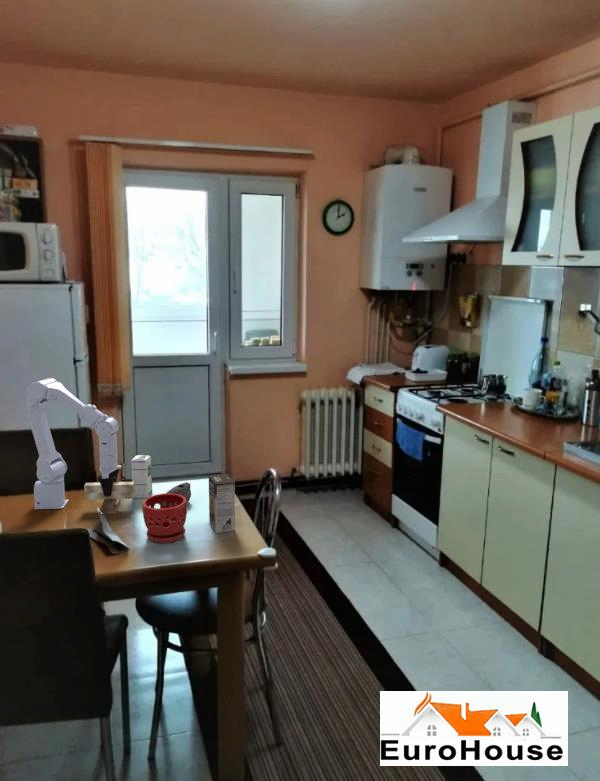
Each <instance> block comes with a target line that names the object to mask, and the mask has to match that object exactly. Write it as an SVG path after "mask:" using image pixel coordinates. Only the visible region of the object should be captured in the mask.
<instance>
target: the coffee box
mask: <svg viewBox="0 0 600 781" xmlns="http://www.w3.org/2000/svg"><path fill="white" fill-rule="evenodd" d="M235 484H236V483H235V481H234V479H232V478H231V476H230V475H228V473H226V474H213V475H211V474H210V475H208V503H209V504H208V507H209V508H208V509H209V510H208V512H209V514H208V515H209V516H208V517H209V524H210V526H211V528H212V529H213V531H214V532H215V533H216V534H217V533H218V534H219V533H220V534H221V533H227V532H234V531H235V525H236V524H235V519H236V518H235V517H236V516H235V514H236V512H235V511H236V504H235V503H236V502H235V499H236V498H235V497H236V496H235V495H236V492H235V490H236V488H235V486H236V485H235Z"/></svg>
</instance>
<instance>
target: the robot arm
mask: <svg viewBox="0 0 600 781" xmlns="http://www.w3.org/2000/svg"><path fill="white" fill-rule="evenodd" d="M25 393H26V397H25V398H26V399H25V404H24V406H25V411H26V414H27V418H28V421H29V425H30V428H31V432H32V435H33V438H34V441H35V442H34V443H35V446H36V449H37V452H38V459H37V460H36V477H37V479H38V480H36V481H35V483H34V485H33V495H34V496H33V497H34V498H33V499H34V510H50V509H51V510H57V509H64V508H65V506H66V505H67V503H68V502H69V499H67V498H66V496H65V474H66V472H67V470H68V465H67V462H65V460H64V458H63V457H62V454H61V453H60V452H58V451H57V450H56V446H55V442H54V439H53V436H52V433H51V429H50V426H49V421H48V419H47V416H46V410H45V406H46V405H47V403H48V402H49V401H59V402H61V403H62V404H64V405H65V406H67V407H69V408H71V410H74V411H75V412H76V413H78V417H79V419H80V420H81V421H82V422H84V423H86V424H87V425H88V426H90V427H91V428H92V429H94V431H95V434H96V436H98V443H99V444H98V447H99V448H98V450H99V451H98V452H99V470H100V472H101V475H97V481H98V483H100V484H101V486H102V489H103V493H104V496H105V497H106V496H111V494H112V487H113V482H118V480H117V479H118V476H119V473H120V470H121V469H122V465H119V464H118V440H117V432H118V430H119V429H120V423H119V422H118V420H117V419H116V418H115V417H114V416H108V415H107V414H104V413H103V412H102V411H101V410H99V409H97V406H96V405H95V404H84V402H82V401H81V400H80V399H78V398H77V397H76V396H75V395H74V394H73V393H71V392H70V391H68V390H67V389H66V388H65V387H64V385H63V384H62V383H61V382H59V381H58V380H56V379H55V378H52V377H47V378H45V379H41V380H38V381H36V380H35V381H33V382H31V383H30V384H29V385H28V386H27V387H26V389H25Z"/></svg>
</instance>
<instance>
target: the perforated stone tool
mask: <svg viewBox="0 0 600 781" xmlns="http://www.w3.org/2000/svg"><path fill="white" fill-rule="evenodd" d="M166 493H171V494H179V495H182V496H184V497H185V498H186V502H187V503H188V502H190V501H191V500H190V499H191V497H192V491H191V483H189V482H183V483H180V484H178V485H176V486H173V487H172V488H170V489H169V490H168V491H167V492H166ZM162 504H163V505H166V504H167V502H165V501H164V502H163V503H162ZM175 504H177V502H175ZM169 505H170V506H172V504H169Z"/></svg>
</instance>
